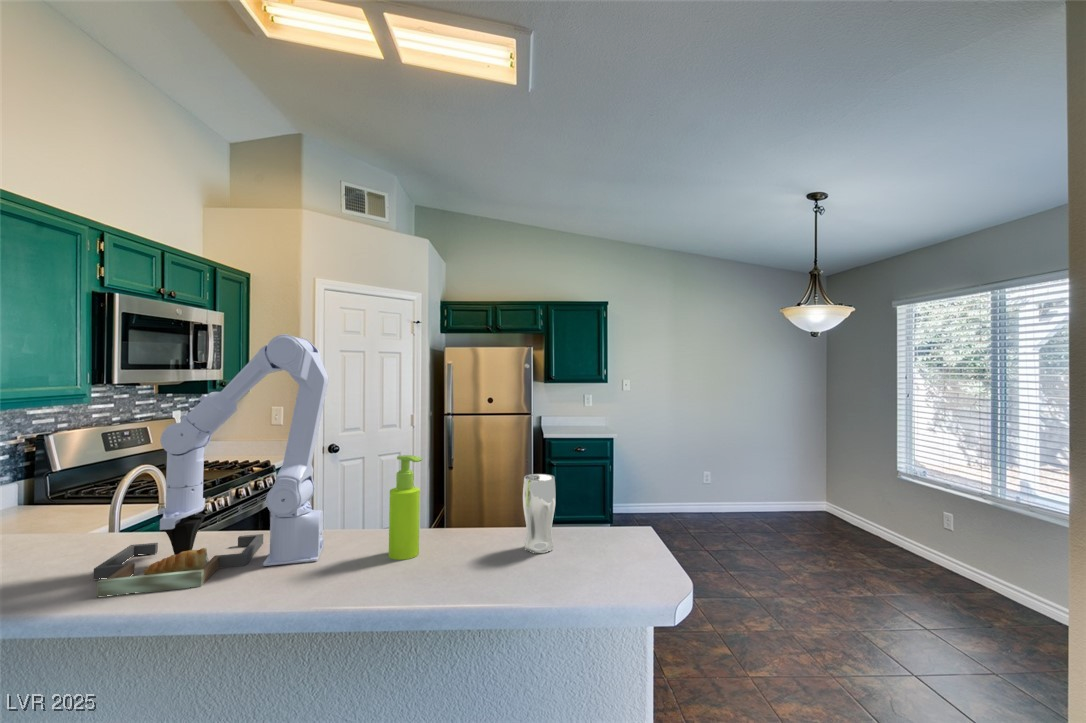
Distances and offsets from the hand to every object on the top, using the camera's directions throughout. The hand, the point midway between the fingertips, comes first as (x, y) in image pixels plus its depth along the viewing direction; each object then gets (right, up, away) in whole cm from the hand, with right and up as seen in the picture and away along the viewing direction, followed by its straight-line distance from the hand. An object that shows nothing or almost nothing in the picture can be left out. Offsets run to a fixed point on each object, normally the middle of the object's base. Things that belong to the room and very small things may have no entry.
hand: (183, 555), depth 90 cm
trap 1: (-10, -1, -1) cm, 10 cm away
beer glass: (+68, -2, +9) cm, 69 cm away
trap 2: (+9, -2, +4) cm, 10 cm away
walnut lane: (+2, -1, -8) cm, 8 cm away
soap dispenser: (+41, -2, +5) cm, 42 cm away
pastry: (+3, -2, -4) cm, 5 cm away
